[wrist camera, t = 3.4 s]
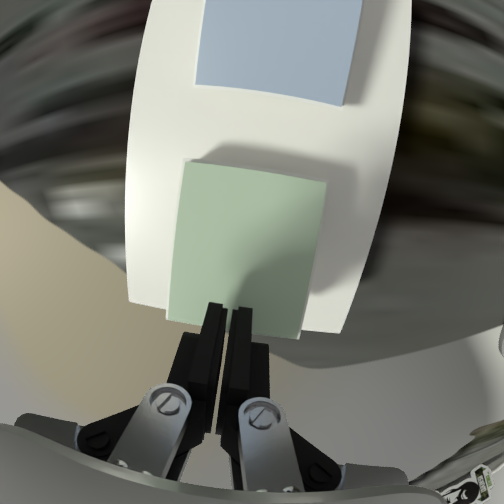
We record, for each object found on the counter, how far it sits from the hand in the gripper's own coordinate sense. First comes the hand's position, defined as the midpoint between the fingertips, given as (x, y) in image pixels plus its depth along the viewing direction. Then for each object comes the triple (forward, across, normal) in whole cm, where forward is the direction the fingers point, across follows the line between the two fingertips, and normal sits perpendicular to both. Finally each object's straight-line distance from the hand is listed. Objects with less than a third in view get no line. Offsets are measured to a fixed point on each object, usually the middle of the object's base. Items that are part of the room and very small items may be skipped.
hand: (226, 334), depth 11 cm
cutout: (+10, -71, +66) cm, 97 cm away
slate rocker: (+3, 0, -12) cm, 13 cm away
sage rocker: (+3, 0, -2) cm, 4 cm away
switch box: (+10, 0, -8) cm, 12 cm away
